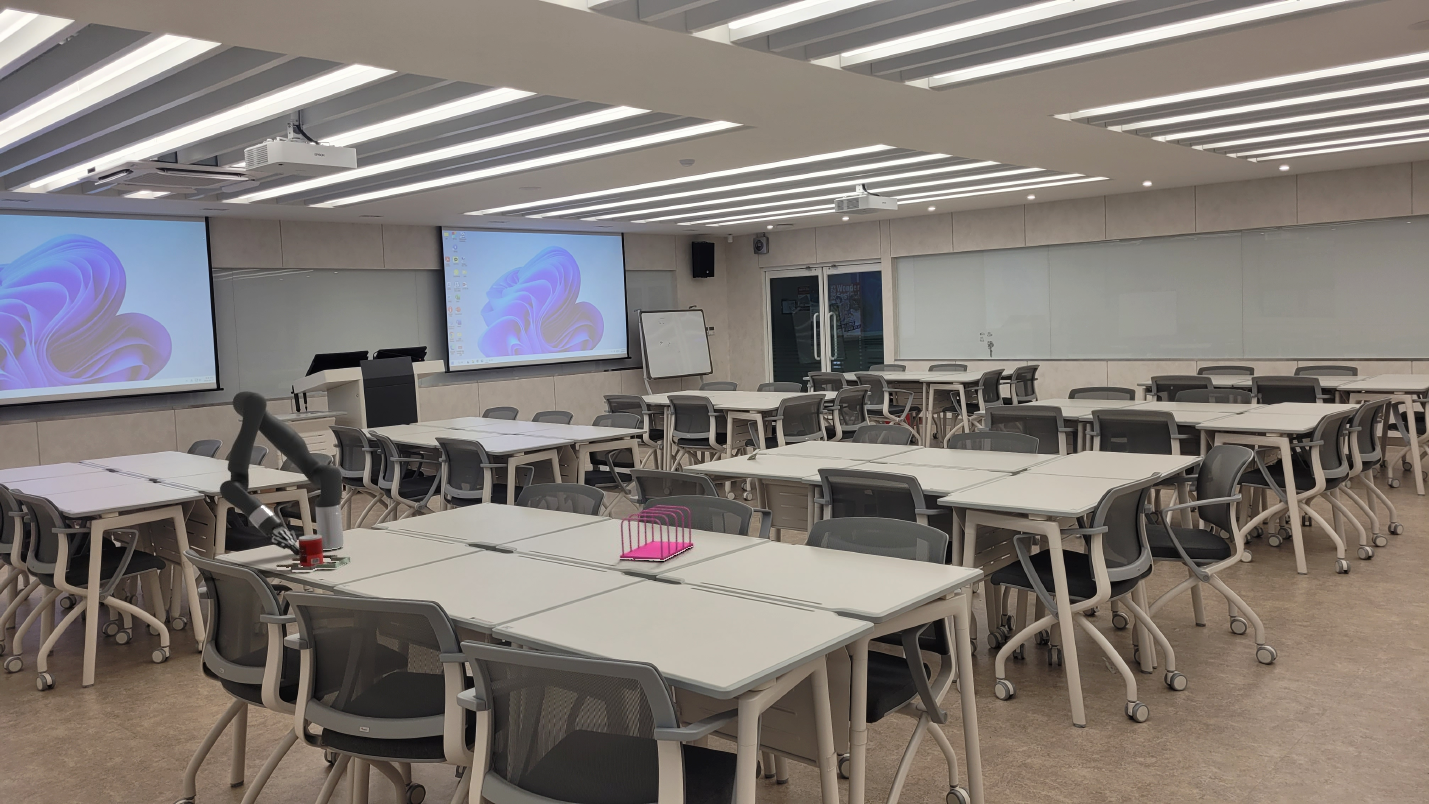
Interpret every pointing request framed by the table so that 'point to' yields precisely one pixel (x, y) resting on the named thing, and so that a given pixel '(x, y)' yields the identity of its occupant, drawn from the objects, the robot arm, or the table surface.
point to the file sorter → (654, 547)
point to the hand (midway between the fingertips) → (299, 553)
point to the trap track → (333, 558)
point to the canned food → (310, 550)
